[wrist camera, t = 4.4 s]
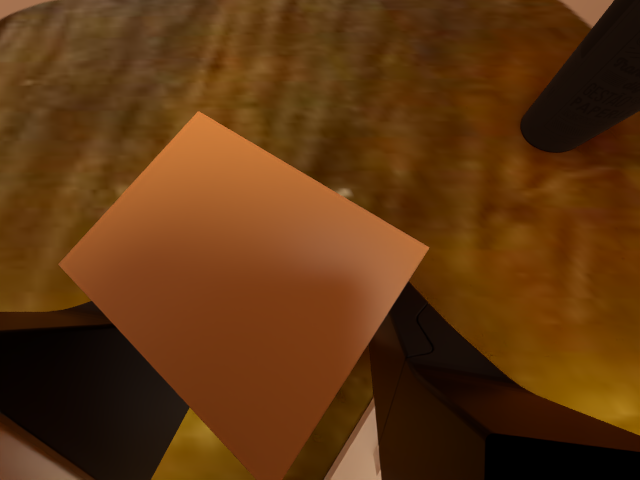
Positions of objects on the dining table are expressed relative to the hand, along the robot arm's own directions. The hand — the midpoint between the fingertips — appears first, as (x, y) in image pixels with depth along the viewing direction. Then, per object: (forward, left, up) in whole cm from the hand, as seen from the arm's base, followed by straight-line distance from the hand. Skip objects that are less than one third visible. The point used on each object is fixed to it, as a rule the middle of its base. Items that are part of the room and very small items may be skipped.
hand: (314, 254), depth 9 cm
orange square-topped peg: (-1, -1, -8) cm, 8 cm away
